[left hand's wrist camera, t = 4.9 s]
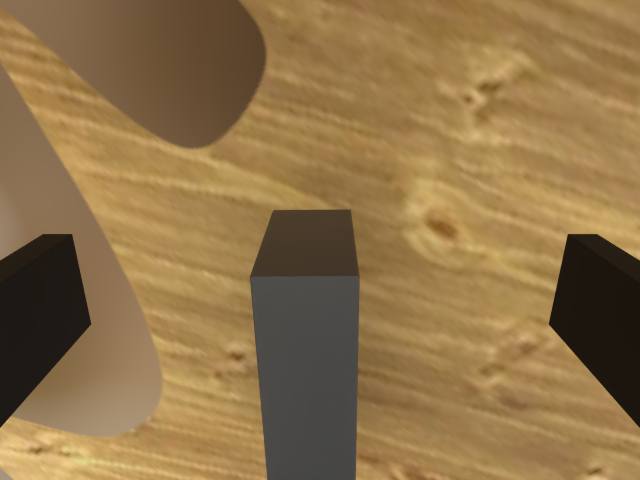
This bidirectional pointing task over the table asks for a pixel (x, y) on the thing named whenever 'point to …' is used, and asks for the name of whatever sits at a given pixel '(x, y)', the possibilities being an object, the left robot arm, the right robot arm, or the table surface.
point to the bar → (308, 344)
